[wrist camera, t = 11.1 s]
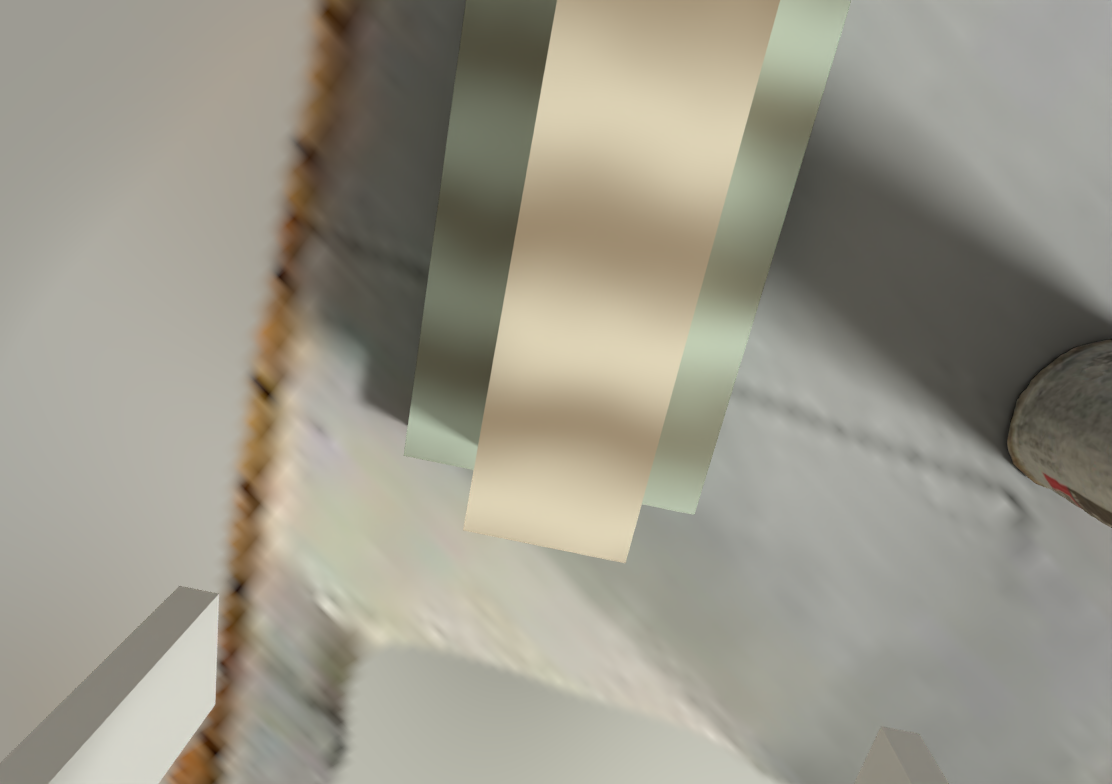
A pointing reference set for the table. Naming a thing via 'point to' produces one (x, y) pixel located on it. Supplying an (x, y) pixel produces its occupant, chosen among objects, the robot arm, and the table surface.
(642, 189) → the maple beam
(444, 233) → the deck
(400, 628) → the table surface
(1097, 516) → the spray can
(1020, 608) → the table surface
